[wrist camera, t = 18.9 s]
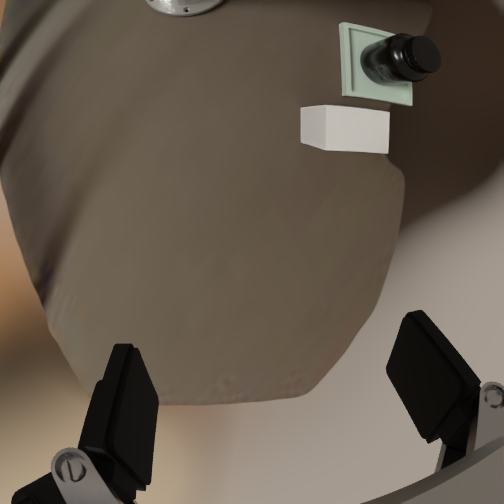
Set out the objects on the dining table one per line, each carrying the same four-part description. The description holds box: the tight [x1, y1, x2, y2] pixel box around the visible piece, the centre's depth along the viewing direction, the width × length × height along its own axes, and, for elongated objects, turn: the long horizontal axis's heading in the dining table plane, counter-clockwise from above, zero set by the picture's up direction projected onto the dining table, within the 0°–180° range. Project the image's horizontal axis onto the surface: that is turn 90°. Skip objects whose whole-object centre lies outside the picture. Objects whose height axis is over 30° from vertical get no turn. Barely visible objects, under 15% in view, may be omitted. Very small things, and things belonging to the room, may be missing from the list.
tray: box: [339, 22, 412, 106], centre depth 33 cm, size 12×12×2 cm
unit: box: [301, 104, 390, 154], centre depth 33 cm, size 6×8×10 cm
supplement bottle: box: [360, 33, 441, 85], centre depth 28 cm, size 7×7×12 cm
